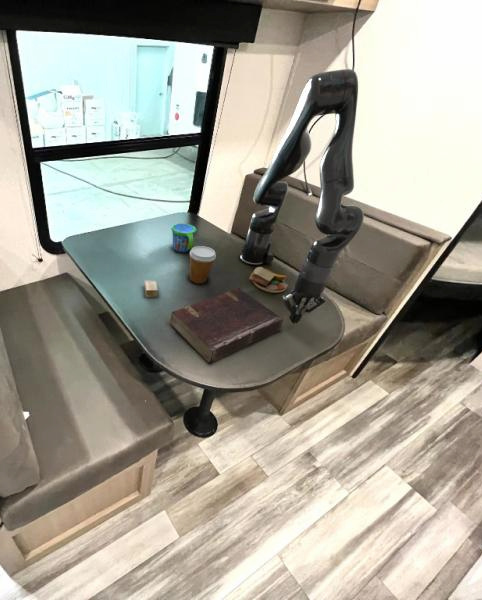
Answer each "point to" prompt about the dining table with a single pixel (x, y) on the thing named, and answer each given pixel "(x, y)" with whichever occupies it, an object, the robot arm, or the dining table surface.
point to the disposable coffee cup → (201, 263)
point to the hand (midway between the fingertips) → (293, 321)
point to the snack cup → (183, 237)
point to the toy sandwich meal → (268, 280)
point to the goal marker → (150, 289)
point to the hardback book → (225, 323)
